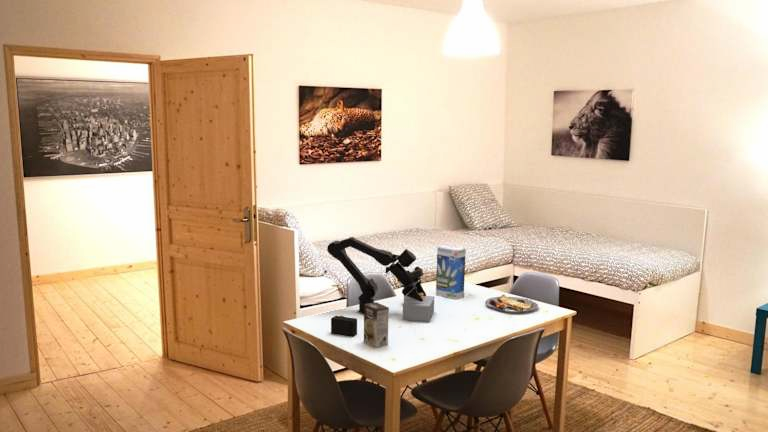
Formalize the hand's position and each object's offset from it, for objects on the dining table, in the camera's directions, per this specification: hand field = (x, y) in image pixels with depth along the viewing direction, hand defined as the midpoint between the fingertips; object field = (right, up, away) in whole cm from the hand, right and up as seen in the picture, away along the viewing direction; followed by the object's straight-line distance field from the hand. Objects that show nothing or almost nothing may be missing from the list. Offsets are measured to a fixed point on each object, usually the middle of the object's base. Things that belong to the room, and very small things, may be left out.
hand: (424, 298), depth 299 cm
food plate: (+44, -7, +18) cm, 48 cm away
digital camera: (-35, -12, -23) cm, 44 cm away
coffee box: (-22, -14, -35) cm, 44 cm away
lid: (-2, -1, +1) cm, 3 cm away
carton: (-2, -8, +2) cm, 9 cm away
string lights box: (+16, -4, +37) cm, 40 cm away
